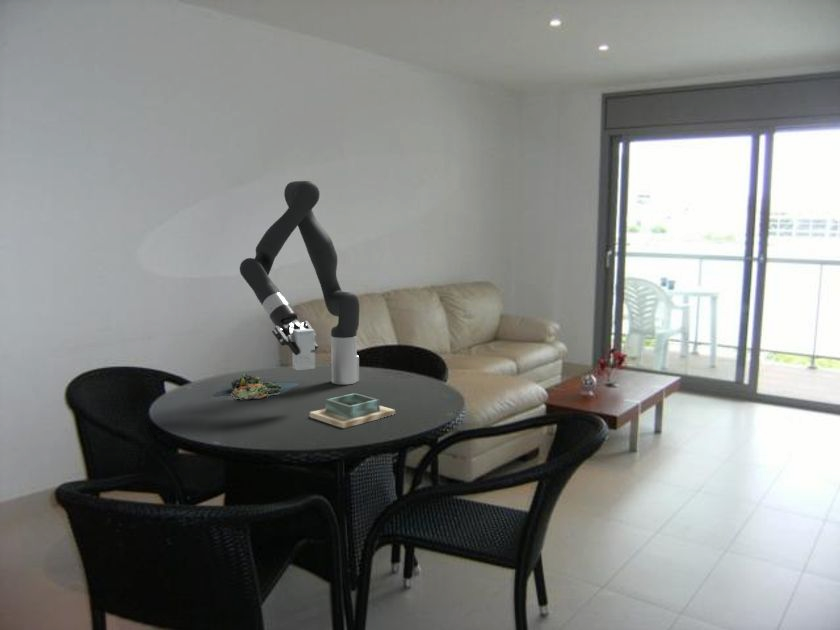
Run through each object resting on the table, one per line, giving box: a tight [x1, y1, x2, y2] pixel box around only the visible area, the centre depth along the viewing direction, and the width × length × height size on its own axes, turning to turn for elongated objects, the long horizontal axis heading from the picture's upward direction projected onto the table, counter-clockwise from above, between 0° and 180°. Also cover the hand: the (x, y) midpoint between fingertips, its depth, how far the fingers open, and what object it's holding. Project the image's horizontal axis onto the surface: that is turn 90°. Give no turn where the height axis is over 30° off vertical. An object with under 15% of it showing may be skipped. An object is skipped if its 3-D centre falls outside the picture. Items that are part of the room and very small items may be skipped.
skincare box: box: [291, 328, 316, 371], centre depth 204 cm, size 6×4×12 cm
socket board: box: [309, 392, 396, 429], centre depth 200 cm, size 20×16×5 cm
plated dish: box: [212, 372, 300, 400], centre depth 229 cm, size 35×28×7 cm
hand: (307, 351), depth 204 cm, fingers closed on skincare box, 7 cm apart
